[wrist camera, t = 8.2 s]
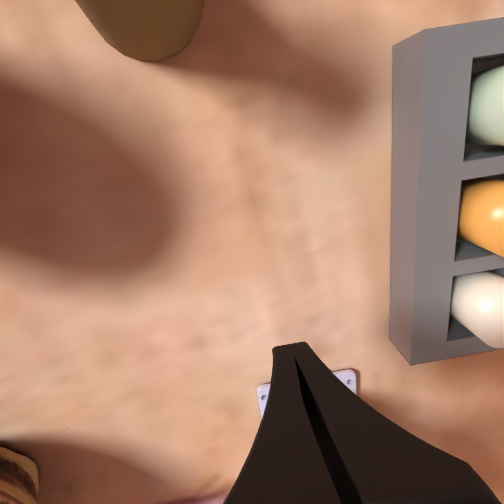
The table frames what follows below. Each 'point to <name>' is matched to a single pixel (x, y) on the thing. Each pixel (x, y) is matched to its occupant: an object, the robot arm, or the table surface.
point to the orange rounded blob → (482, 213)
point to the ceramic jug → (17, 478)
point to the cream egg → (480, 305)
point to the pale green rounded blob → (486, 108)
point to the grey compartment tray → (436, 185)
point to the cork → (145, 25)
